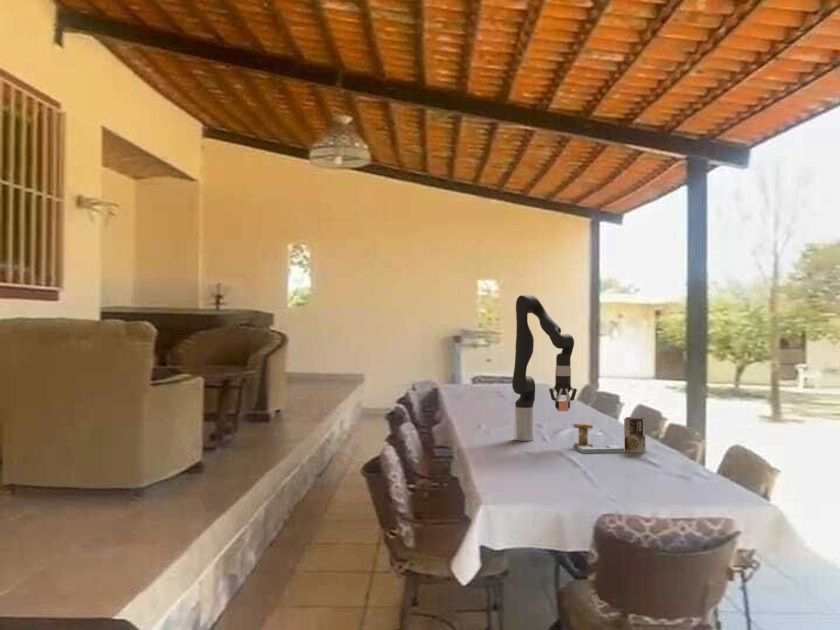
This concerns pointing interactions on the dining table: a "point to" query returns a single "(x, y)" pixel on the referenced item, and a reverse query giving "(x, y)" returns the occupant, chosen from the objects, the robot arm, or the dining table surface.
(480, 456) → the dining table surface
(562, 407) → the orange block
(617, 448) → the notch board
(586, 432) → the knob
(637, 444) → the coffee box
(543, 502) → the dining table surface
